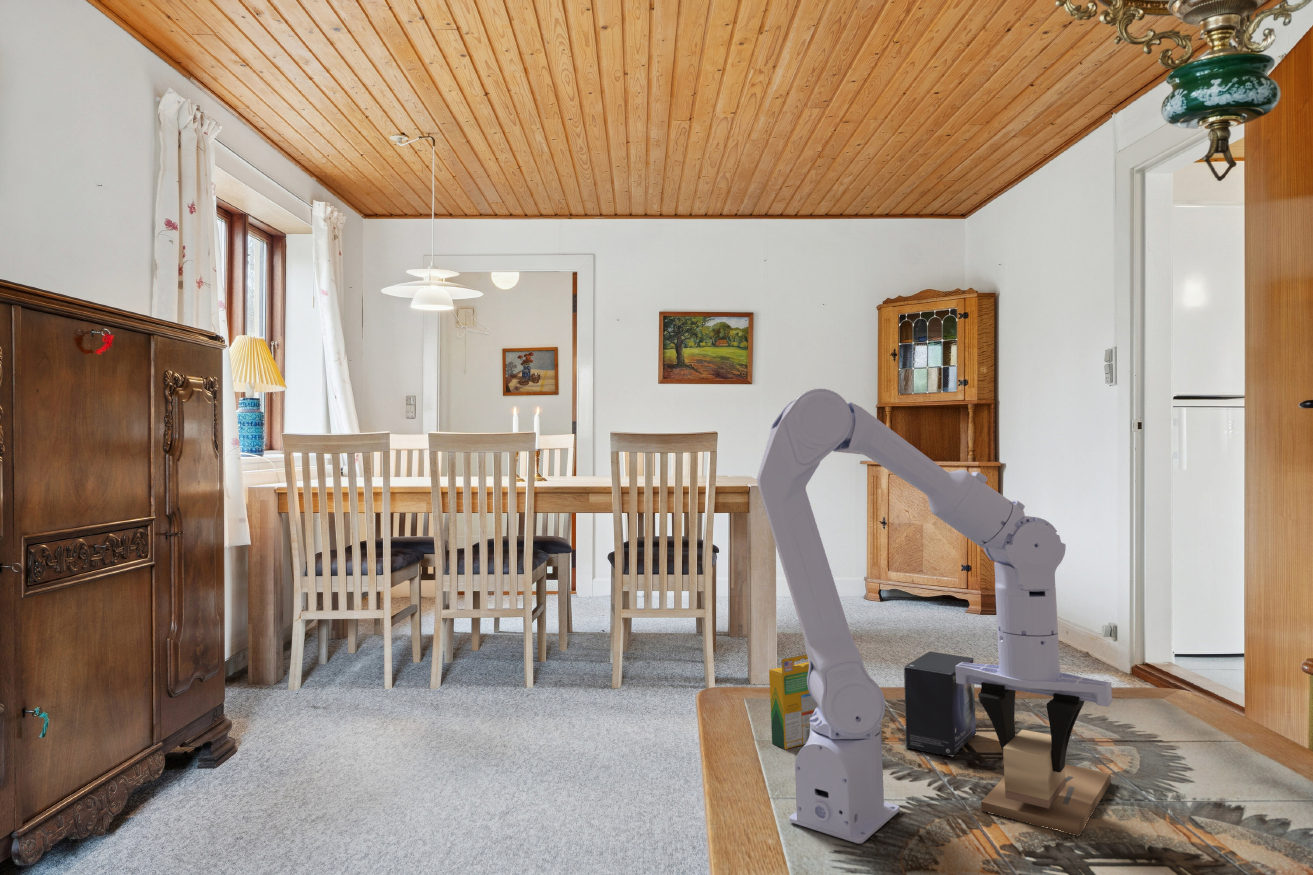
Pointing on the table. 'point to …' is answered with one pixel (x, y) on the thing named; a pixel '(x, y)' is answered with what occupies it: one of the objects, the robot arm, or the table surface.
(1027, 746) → the block
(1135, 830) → the table surface
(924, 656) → the small box
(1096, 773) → the board
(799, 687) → the crayon box
